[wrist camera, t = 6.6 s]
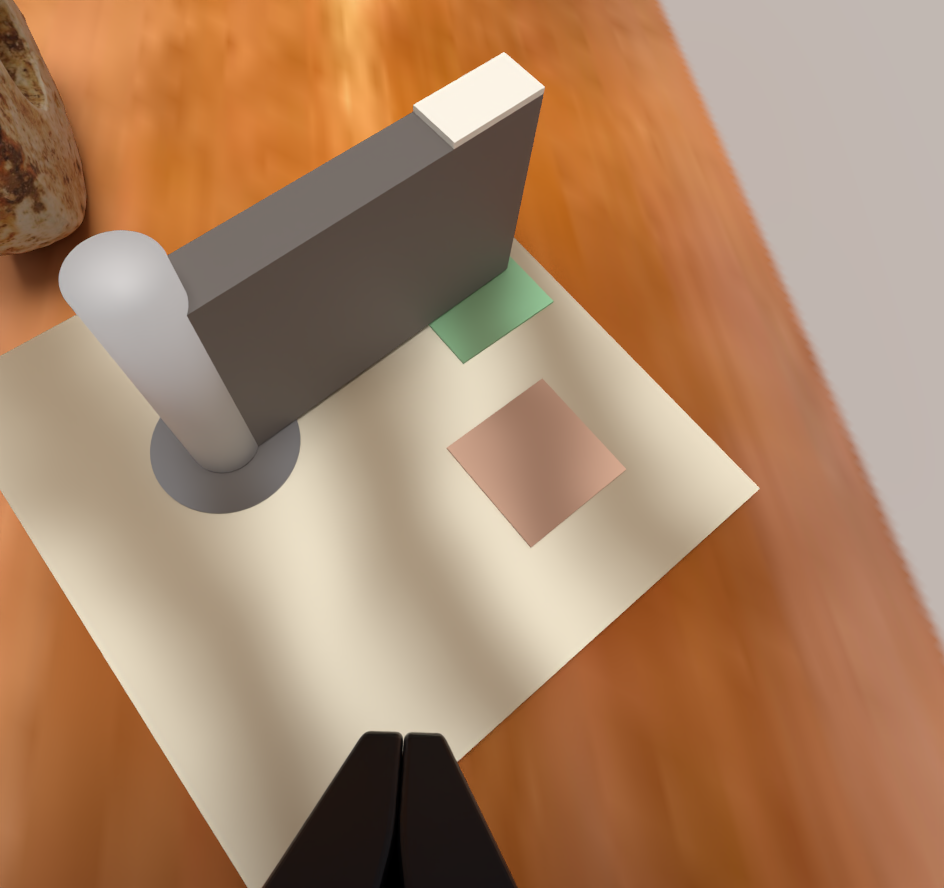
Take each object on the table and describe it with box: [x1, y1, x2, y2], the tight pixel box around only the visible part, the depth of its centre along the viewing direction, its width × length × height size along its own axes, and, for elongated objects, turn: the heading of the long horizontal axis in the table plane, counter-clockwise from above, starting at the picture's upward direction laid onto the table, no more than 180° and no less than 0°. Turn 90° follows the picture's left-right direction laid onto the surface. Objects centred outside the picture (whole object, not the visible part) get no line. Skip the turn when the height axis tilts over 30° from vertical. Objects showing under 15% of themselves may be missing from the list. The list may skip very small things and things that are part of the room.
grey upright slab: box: [59, 52, 545, 473], centre depth 19 cm, size 12×2×8 cm, turn 132°
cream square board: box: [0, 238, 760, 888], centre depth 22 cm, size 18×18×1 cm
